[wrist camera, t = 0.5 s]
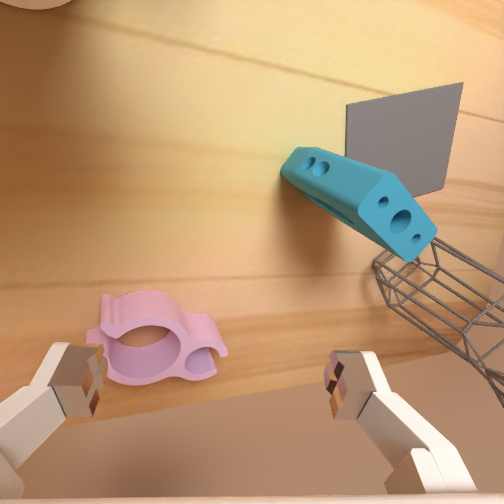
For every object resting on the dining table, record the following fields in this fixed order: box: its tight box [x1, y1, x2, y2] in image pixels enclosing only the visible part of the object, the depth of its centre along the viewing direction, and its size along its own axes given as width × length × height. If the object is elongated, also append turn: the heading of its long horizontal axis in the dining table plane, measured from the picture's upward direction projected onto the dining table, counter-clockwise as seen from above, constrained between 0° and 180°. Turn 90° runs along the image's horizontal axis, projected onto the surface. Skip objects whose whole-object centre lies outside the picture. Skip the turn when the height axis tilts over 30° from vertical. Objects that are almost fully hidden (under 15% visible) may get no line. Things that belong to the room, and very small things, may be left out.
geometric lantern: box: [373, 237, 504, 408], centre depth 52 cm, size 16×16×35 cm
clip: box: [85, 290, 228, 386], centre depth 50 cm, size 20×12×7 cm, turn 59°
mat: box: [345, 82, 464, 197], centre depth 55 cm, size 18×22×1 cm
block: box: [281, 147, 437, 262], centre depth 42 cm, size 12×5×20 cm, turn 48°
